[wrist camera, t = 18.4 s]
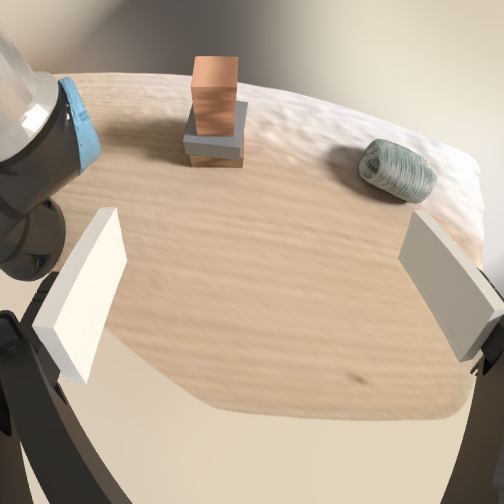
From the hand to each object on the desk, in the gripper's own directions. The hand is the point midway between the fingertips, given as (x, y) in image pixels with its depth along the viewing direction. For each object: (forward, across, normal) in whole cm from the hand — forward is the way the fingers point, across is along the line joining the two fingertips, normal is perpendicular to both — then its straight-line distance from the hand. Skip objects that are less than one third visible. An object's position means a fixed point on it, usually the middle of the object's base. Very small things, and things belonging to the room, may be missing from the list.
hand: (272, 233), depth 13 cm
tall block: (+34, -4, -3) cm, 34 cm away
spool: (+36, +26, -12) cm, 46 cm away
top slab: (+37, -4, -5) cm, 38 cm away
